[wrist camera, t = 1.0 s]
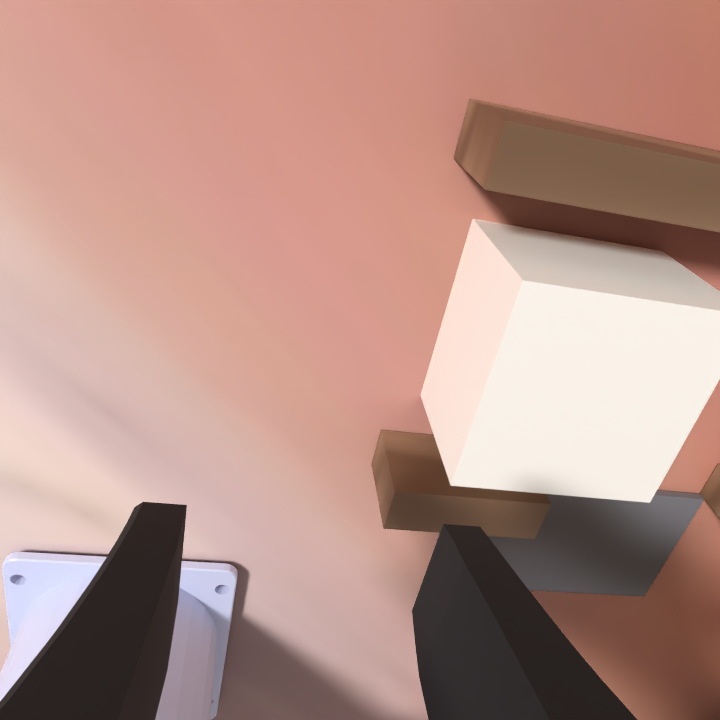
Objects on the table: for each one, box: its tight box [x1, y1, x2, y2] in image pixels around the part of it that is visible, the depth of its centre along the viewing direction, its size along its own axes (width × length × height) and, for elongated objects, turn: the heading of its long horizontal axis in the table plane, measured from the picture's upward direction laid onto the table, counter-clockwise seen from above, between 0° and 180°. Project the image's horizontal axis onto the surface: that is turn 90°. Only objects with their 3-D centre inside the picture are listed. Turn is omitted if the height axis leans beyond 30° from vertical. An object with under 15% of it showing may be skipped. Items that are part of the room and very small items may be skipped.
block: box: [421, 219, 720, 503], centre depth 18 cm, size 6×6×4 cm
